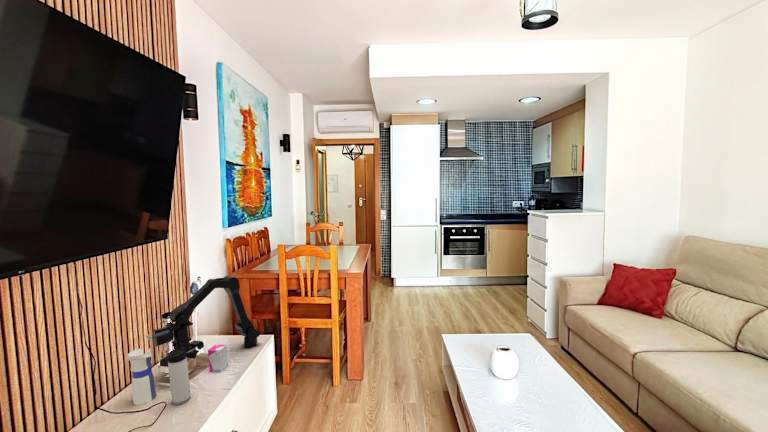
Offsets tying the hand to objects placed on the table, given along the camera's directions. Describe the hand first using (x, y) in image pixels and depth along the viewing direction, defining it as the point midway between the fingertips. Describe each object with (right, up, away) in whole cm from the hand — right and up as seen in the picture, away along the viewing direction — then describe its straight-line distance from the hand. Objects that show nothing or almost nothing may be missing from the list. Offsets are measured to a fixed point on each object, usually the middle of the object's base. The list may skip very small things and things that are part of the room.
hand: (184, 371), depth 153 cm
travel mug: (+9, -3, -18) cm, 20 cm away
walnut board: (+2, -1, +6) cm, 6 cm away
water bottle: (-7, -4, -15) cm, 17 cm away
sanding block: (0, 0, 0) cm, 0 cm away
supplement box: (+14, -1, +3) cm, 14 cm away
